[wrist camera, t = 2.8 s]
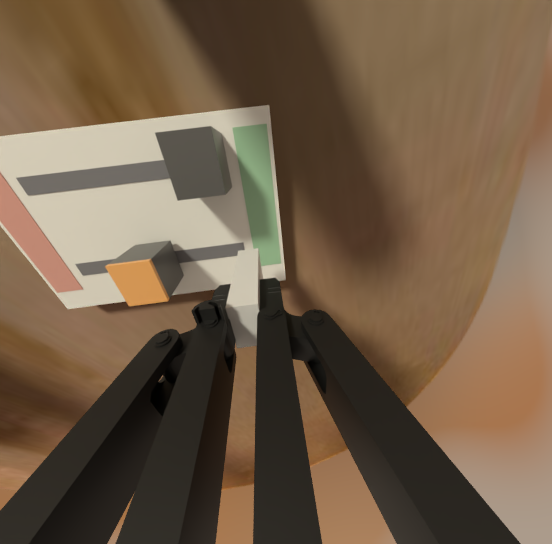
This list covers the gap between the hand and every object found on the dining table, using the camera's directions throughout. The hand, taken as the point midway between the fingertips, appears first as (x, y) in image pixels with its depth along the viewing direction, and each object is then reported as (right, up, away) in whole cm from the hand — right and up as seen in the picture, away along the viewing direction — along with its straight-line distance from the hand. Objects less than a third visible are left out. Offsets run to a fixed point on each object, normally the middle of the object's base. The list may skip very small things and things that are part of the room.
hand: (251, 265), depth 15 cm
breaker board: (-9, +4, +3) cm, 10 cm away
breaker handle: (-8, 0, +3) cm, 9 cm away
